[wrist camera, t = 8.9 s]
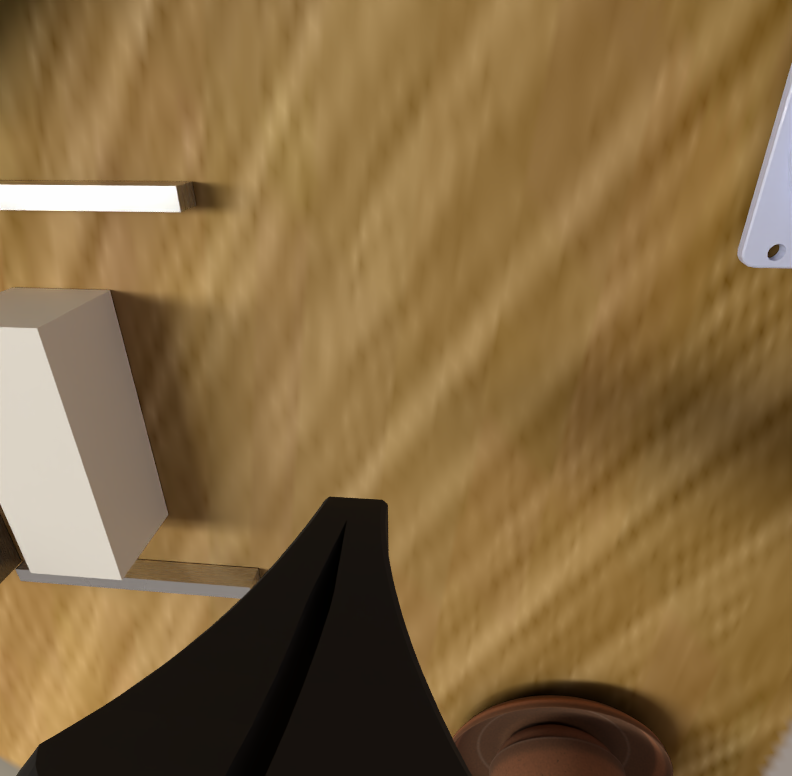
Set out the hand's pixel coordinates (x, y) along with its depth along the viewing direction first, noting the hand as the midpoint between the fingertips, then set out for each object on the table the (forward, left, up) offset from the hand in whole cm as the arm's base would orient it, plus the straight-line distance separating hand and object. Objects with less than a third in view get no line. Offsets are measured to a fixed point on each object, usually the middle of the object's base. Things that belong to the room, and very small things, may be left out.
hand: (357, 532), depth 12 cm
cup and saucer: (-9, +24, -10) cm, 27 cm away
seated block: (+13, +3, -9) cm, 16 cm away
